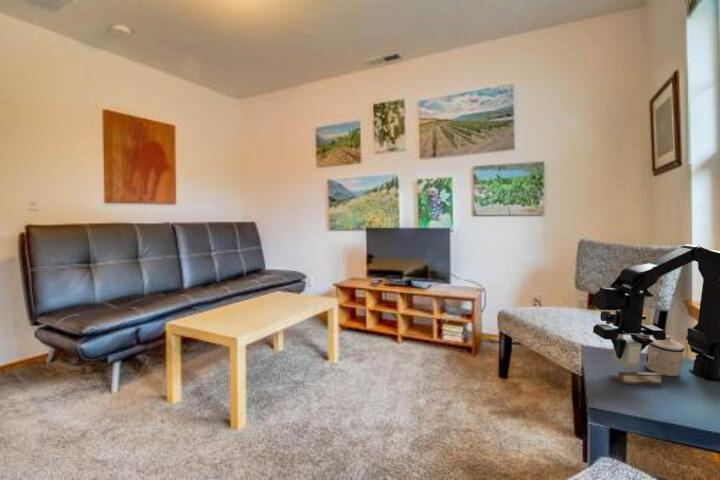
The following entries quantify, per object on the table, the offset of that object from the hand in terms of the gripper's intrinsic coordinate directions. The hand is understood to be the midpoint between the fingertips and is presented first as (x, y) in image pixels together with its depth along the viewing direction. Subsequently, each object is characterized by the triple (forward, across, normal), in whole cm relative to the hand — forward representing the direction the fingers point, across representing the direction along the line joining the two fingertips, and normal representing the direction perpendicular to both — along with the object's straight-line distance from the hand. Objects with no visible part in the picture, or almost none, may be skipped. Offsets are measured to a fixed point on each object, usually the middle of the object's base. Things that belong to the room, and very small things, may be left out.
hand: (625, 358), depth 113 cm
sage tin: (+2, 0, 0) cm, 2 cm away
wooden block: (+6, -2, +4) cm, 7 cm away
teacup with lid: (+6, -14, -4) cm, 16 cm away
